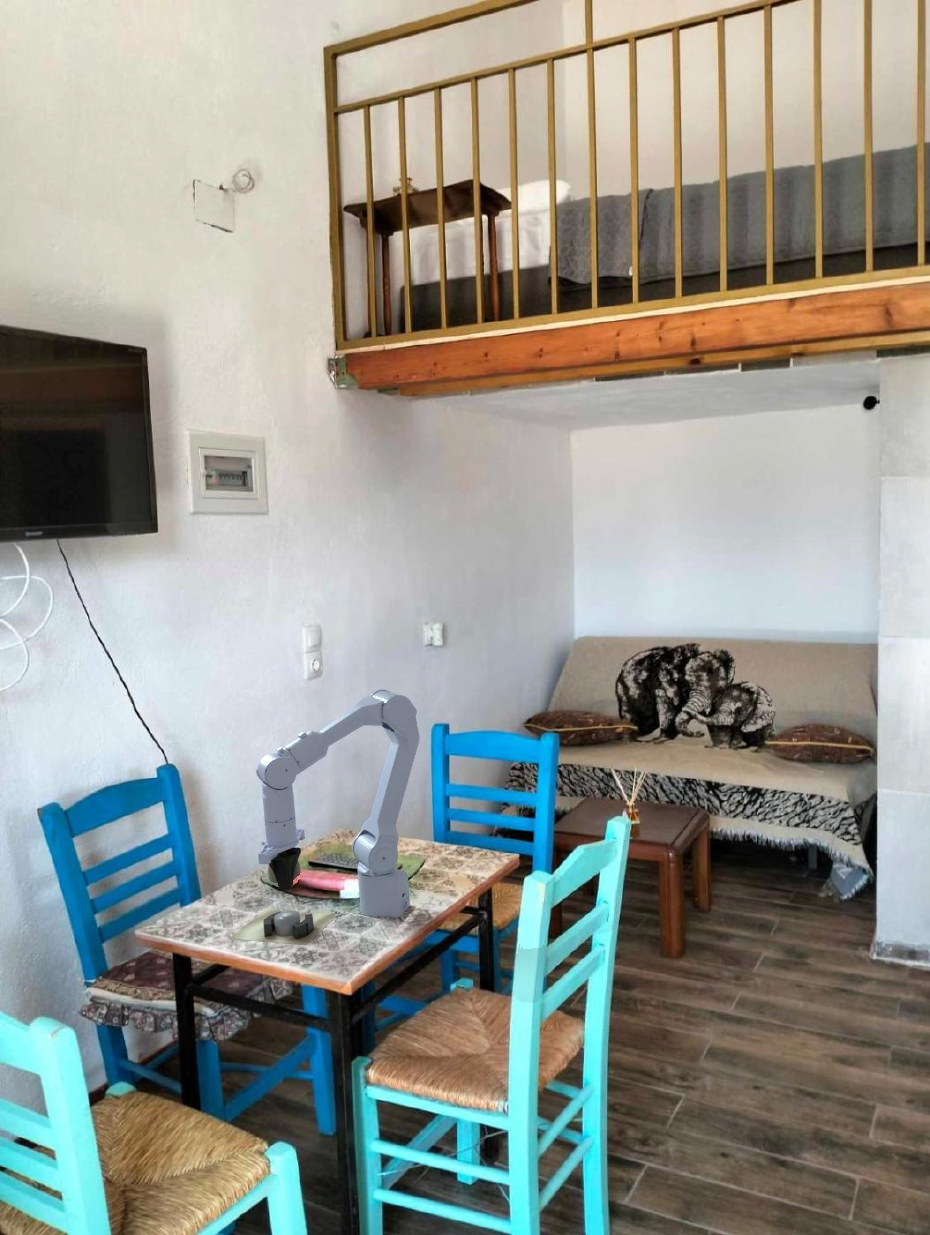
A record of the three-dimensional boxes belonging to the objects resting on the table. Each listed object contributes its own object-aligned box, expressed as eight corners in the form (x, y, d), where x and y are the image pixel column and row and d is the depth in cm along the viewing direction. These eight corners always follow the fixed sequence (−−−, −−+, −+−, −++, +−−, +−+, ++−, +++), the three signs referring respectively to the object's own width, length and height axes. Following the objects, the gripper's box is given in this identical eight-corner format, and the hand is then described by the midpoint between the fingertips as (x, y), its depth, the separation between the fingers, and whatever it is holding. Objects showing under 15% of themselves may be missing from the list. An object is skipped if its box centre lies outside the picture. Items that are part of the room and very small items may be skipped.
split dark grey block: (318, 926, 190) (317, 914, 190) (303, 940, 184) (302, 927, 184) (275, 922, 193) (274, 910, 193) (259, 936, 187) (258, 924, 187)
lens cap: (305, 926, 190) (304, 910, 190) (293, 937, 186) (291, 921, 185) (283, 924, 192) (281, 908, 191) (270, 935, 187) (269, 919, 187)
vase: (305, 880, 217) (302, 842, 217) (297, 892, 211) (293, 852, 210) (274, 881, 218) (271, 842, 217) (265, 893, 211) (262, 853, 210)
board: (338, 918, 195) (338, 914, 195) (305, 948, 182) (305, 944, 182) (266, 913, 200) (265, 909, 200) (229, 942, 187) (228, 938, 187)
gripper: (279, 806, 194) (285, 873, 196) (241, 829, 181) (247, 901, 182) (312, 807, 192) (317, 875, 194) (275, 831, 179) (281, 903, 180)
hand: (285, 888), depth 188 cm, fingers closed
